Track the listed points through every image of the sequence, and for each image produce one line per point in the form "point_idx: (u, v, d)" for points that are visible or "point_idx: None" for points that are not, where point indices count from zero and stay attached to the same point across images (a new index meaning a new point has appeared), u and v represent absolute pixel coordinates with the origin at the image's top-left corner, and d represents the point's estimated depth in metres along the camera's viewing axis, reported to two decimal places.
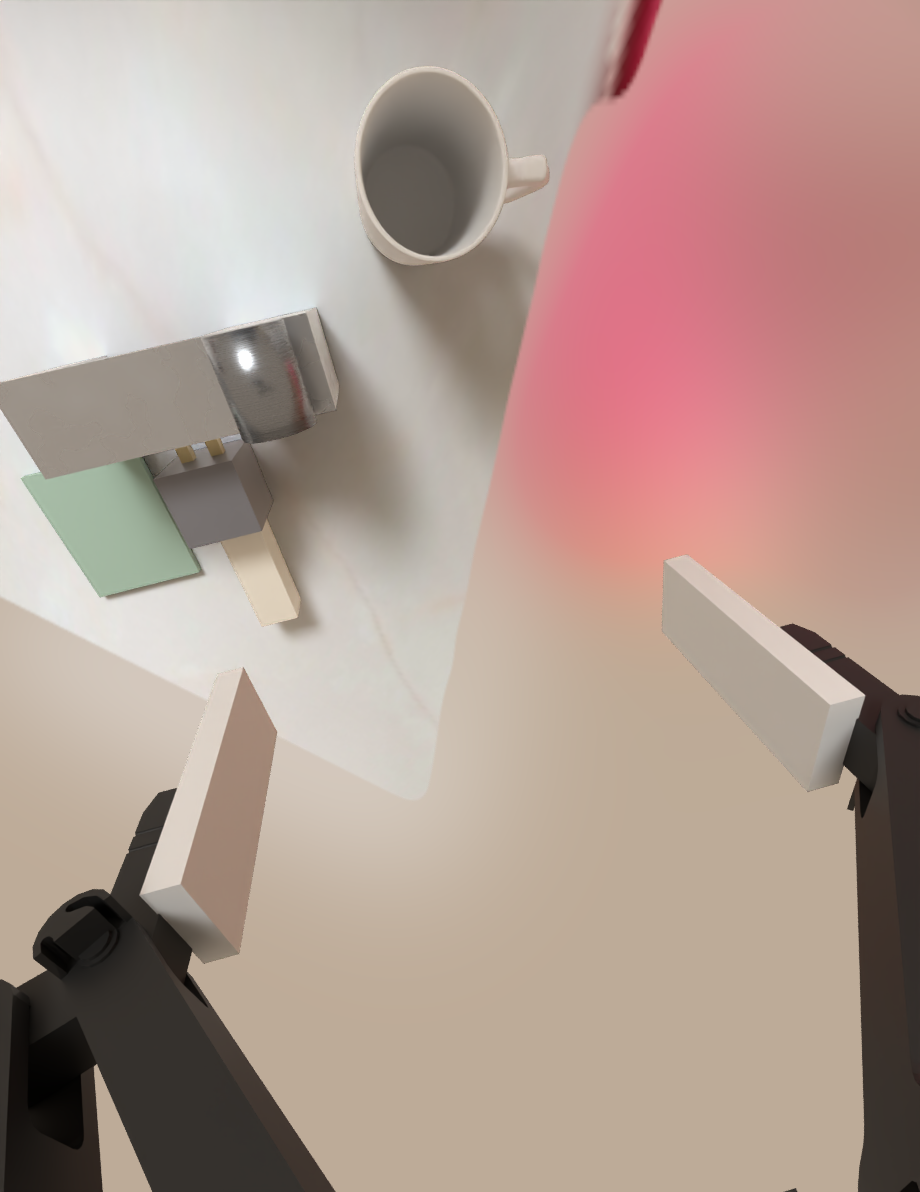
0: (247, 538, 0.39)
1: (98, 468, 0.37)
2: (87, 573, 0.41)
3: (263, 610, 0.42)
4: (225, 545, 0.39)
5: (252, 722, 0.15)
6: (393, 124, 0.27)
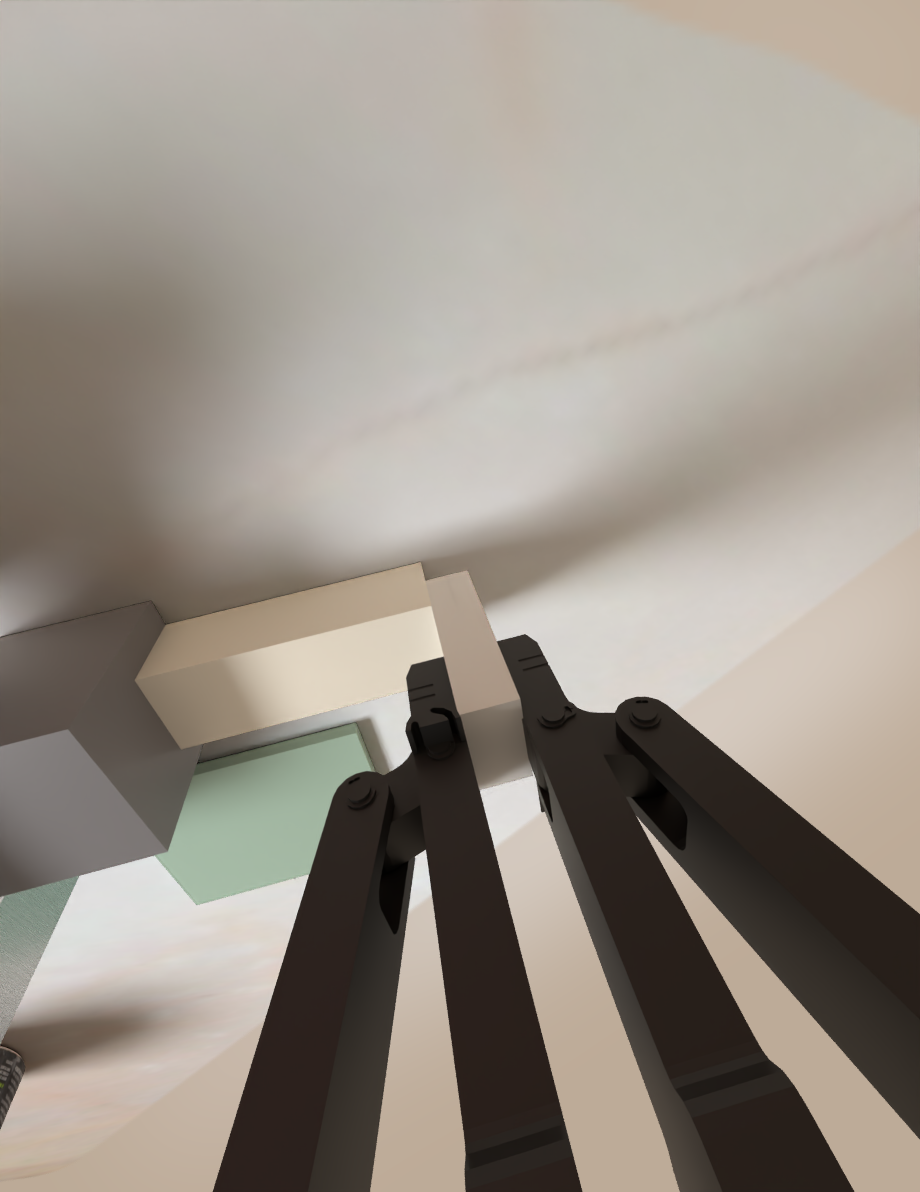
0: (196, 694, 0.16)
1: None
2: None
3: (403, 674, 0.17)
4: (224, 733, 0.17)
5: None
6: None
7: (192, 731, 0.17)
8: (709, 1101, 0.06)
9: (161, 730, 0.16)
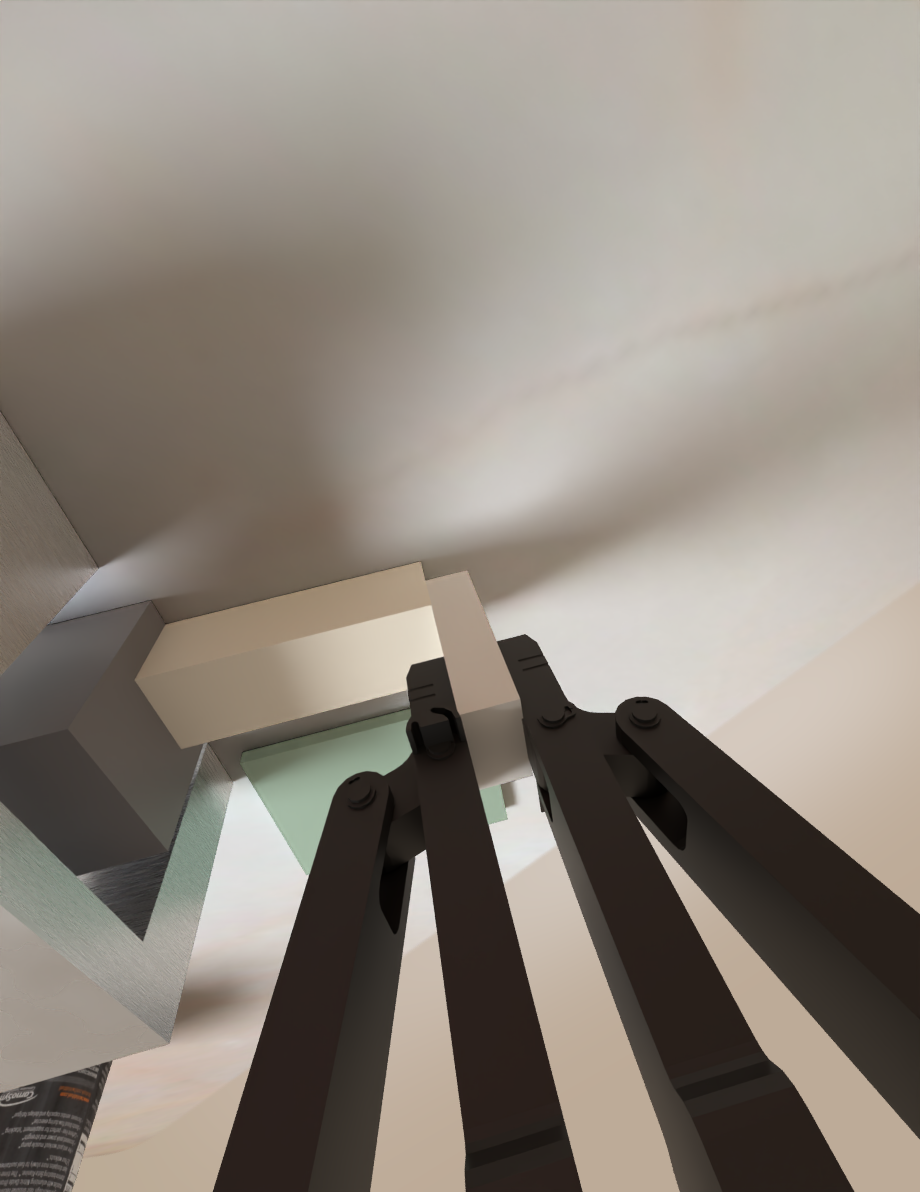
0: (195, 694, 0.16)
1: (279, 805, 0.22)
2: None
3: (403, 674, 0.17)
4: (225, 732, 0.17)
5: None
6: None
7: (192, 731, 0.17)
8: (709, 1101, 0.06)
9: (161, 729, 0.16)
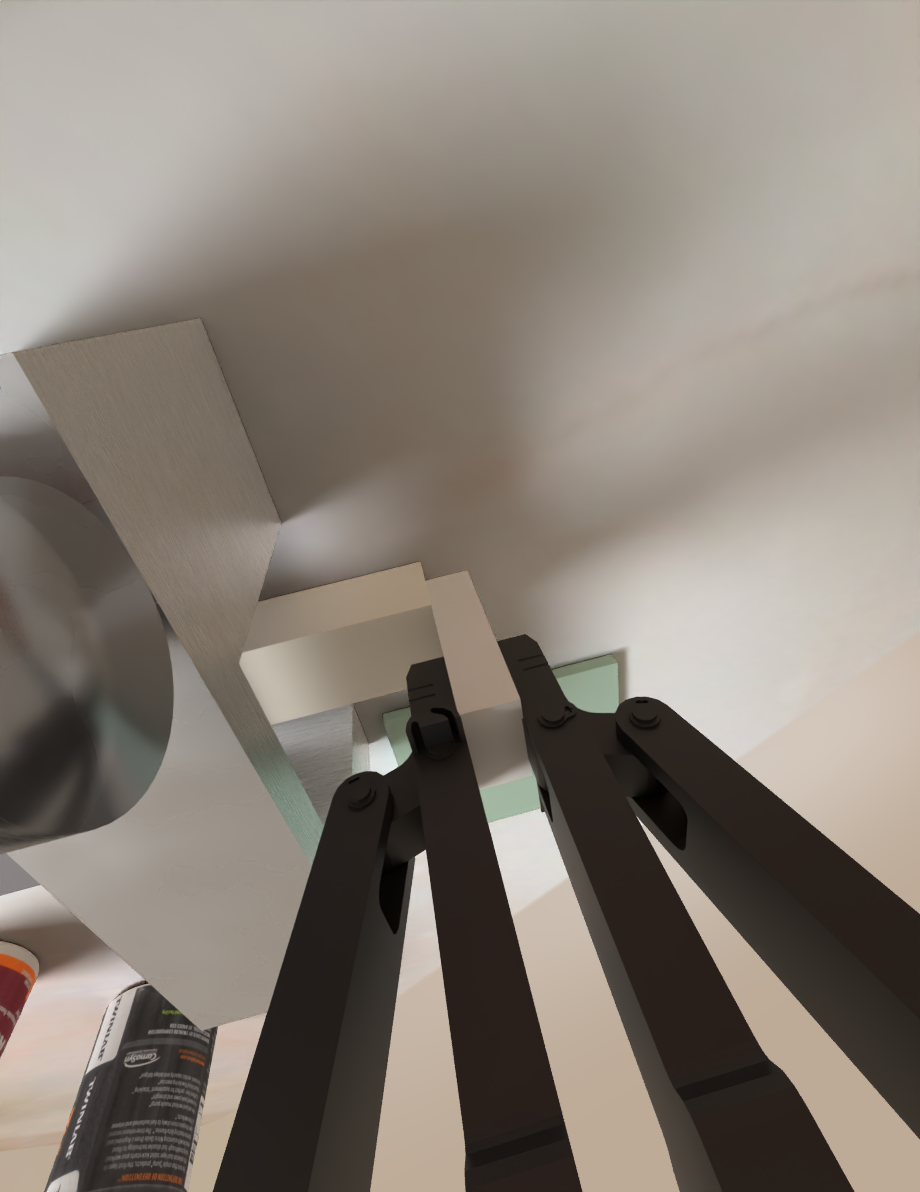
0: None
1: None
2: None
3: (403, 673, 0.17)
4: None
5: None
6: None
7: None
8: (709, 1101, 0.06)
9: None
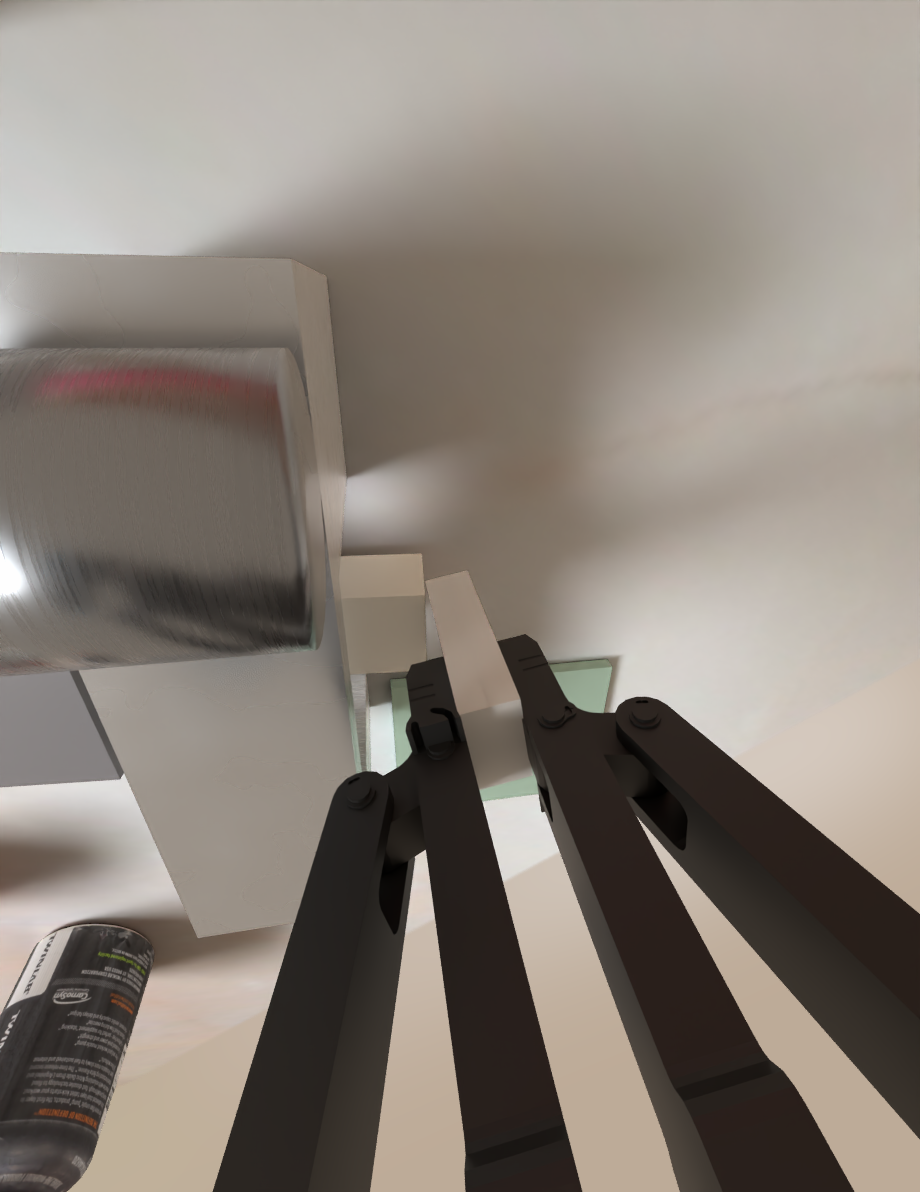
0: None
1: (406, 736, 0.24)
2: None
3: (383, 656, 0.17)
4: None
5: None
6: None
7: None
8: (709, 1102, 0.06)
9: None
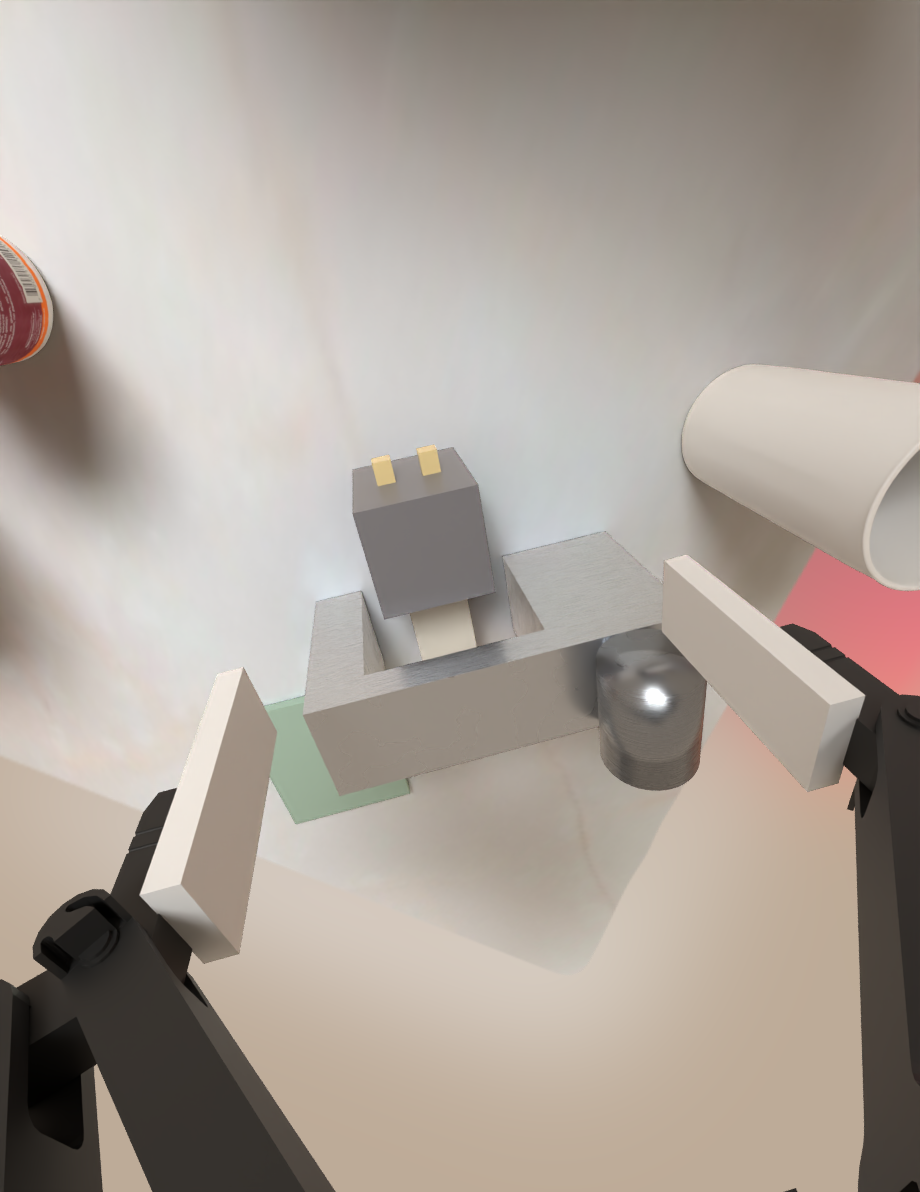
0: None
1: None
2: (288, 803, 0.35)
3: None
4: None
5: (252, 722, 0.15)
6: None
7: None
8: None
9: None
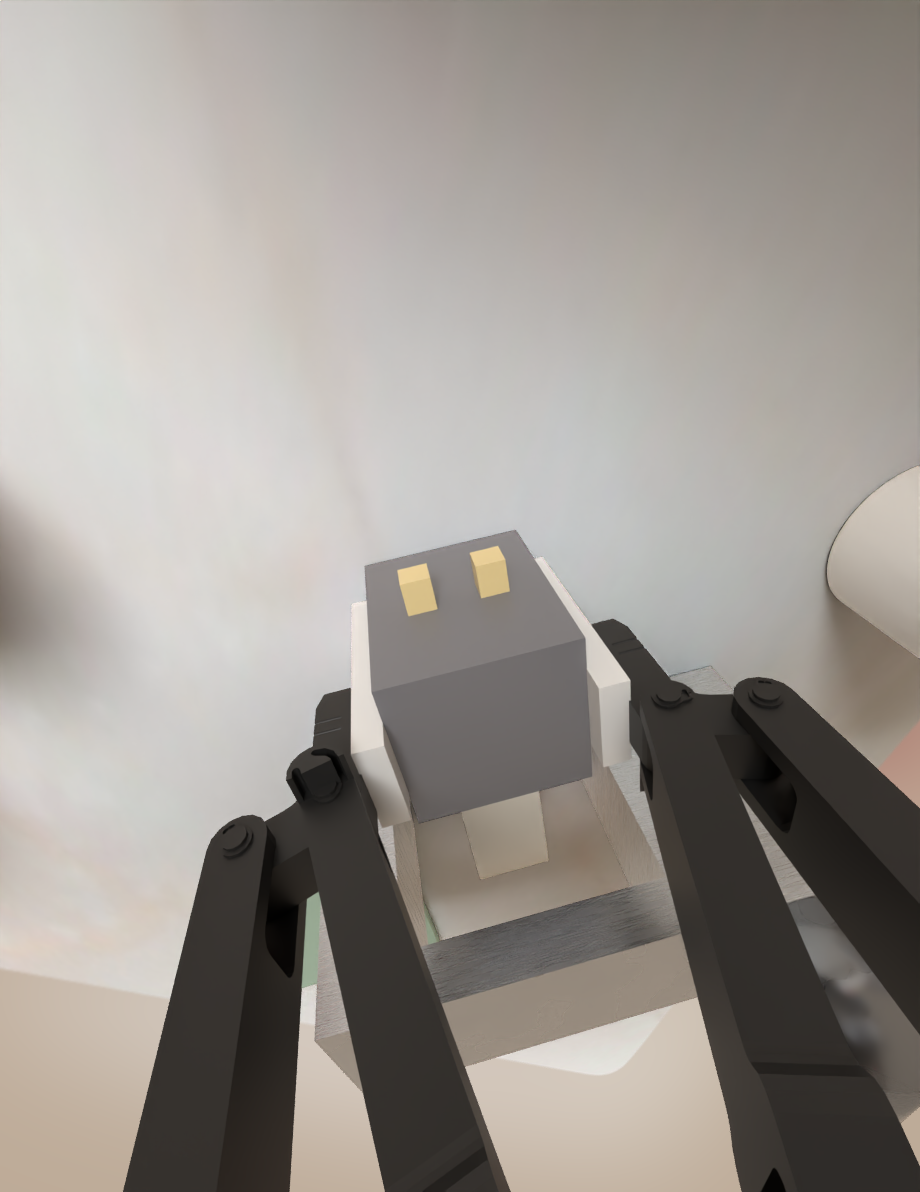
0: None
1: None
2: None
3: (491, 856, 0.21)
4: None
5: None
6: None
7: None
8: (786, 1081, 0.06)
9: None
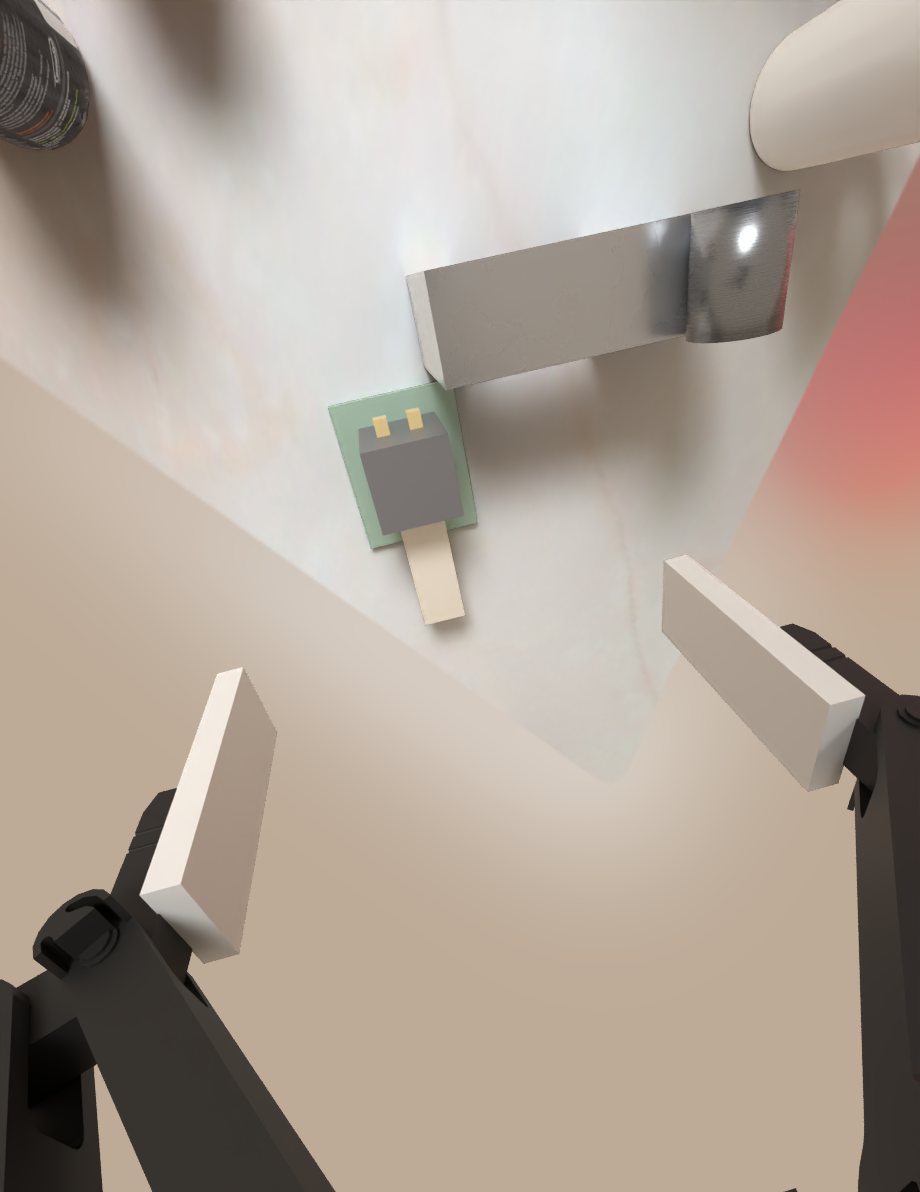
0: (429, 525, 0.35)
1: (409, 399, 0.33)
2: (366, 521, 0.37)
3: (430, 606, 0.38)
4: (404, 533, 0.35)
5: (252, 722, 0.15)
6: None
7: None
8: None
9: None
